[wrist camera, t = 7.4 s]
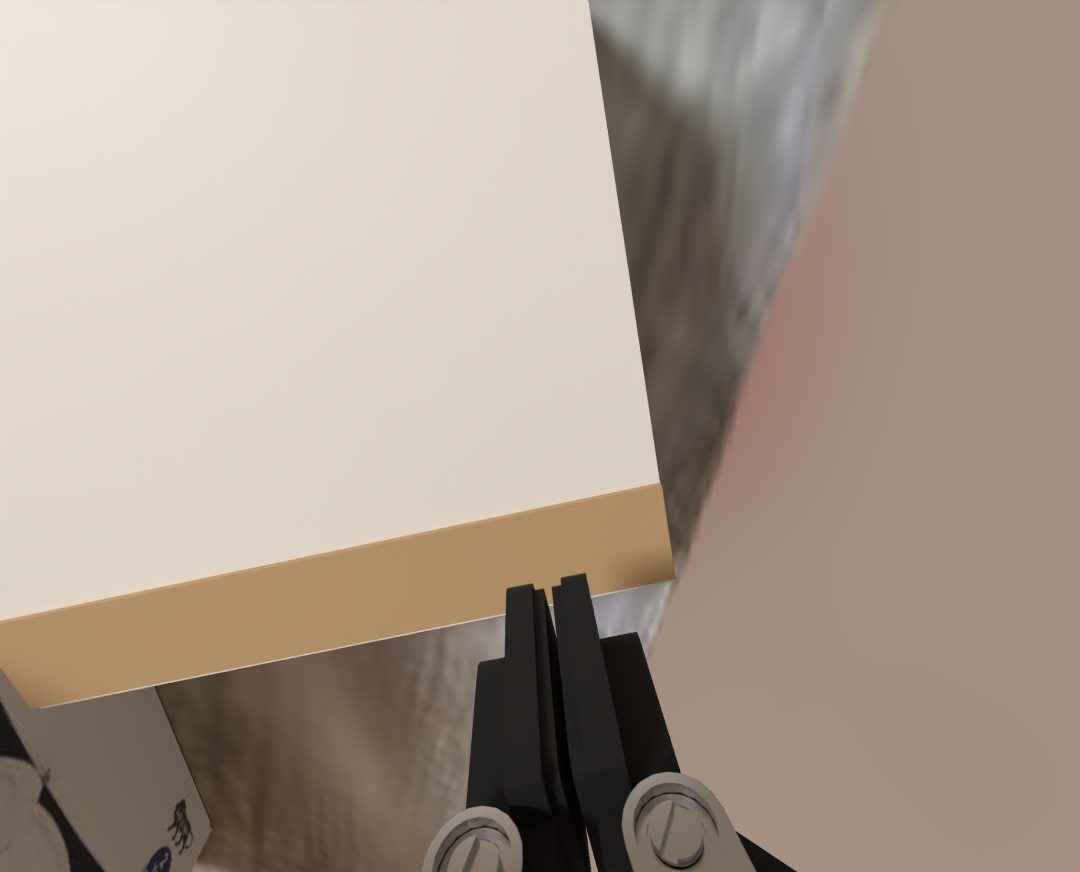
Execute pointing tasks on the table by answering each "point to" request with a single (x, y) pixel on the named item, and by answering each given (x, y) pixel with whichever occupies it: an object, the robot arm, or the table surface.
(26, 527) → the lid
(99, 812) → the packaging
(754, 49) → the table surface
